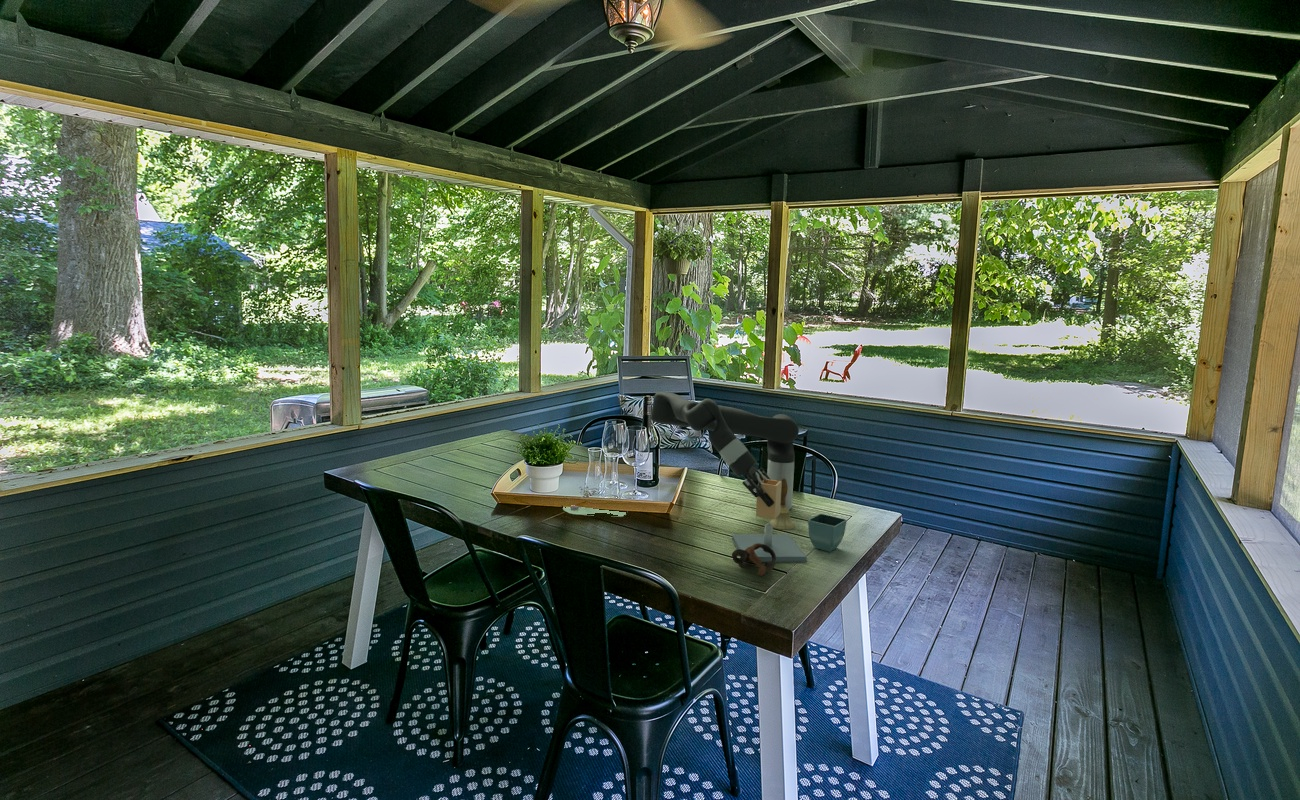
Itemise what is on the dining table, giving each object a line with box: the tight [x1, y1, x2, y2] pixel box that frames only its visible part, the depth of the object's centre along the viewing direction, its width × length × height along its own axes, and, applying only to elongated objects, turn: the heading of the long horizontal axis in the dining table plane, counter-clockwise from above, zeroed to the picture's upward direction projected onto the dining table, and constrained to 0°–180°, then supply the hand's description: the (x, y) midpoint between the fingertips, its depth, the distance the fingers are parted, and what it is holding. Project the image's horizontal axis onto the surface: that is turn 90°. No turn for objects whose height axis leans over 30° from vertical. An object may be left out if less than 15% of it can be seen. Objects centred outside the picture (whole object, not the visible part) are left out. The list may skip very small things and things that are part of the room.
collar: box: [755, 479, 782, 520], centre depth 195 cm, size 6×6×10 cm
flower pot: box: [807, 513, 848, 553], centre depth 199 cm, size 9×9×9 cm
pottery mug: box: [731, 543, 776, 577], centre depth 182 cm, size 12×10×8 cm
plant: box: [562, 483, 627, 517], centre depth 233 cm, size 25×21×9 cm
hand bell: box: [769, 478, 796, 531], centre depth 218 cm, size 8×8×16 cm
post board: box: [731, 522, 808, 563], centre depth 197 cm, size 18×18×8 cm
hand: (774, 502), depth 194 cm, fingers closed on collar, 5 cm apart
